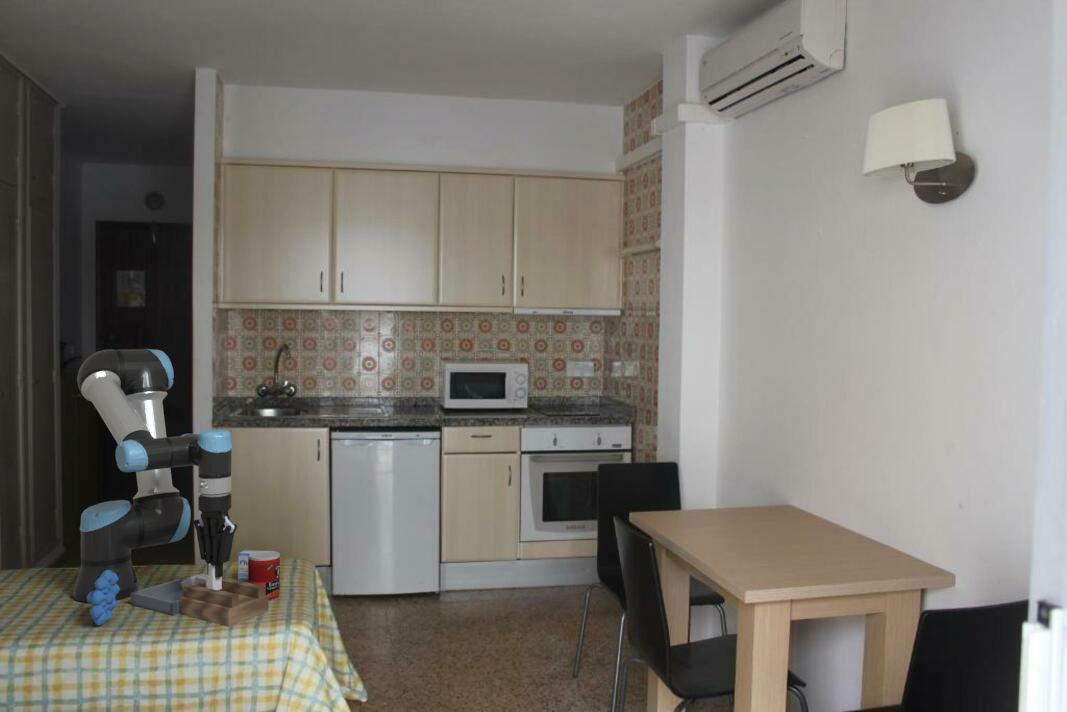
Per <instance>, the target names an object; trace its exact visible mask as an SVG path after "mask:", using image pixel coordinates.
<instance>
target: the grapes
mask: <svg viewBox="0 0 1067 712" xmlns="http://www.w3.org/2000/svg"><path fill="white" fill-rule="evenodd" d="M118 580H119V579H118V576H117V575H116V573H114V572H112V571H111V570H105V571H104V572H103V573H102V574H101V576H100V578H98V579H97V580H96V582H95V583H94V585H95V588H96V589H95V590H94V591H91V592H90V593H89V594H88V595H87V597H86V599H87V601H88V602H87V603H88V604H90V605H91V606H92V607H91V608H90V610H89V613H90V616H91V617H92V620H93V622H94V623H95V625H96V626H99V627H100V626H102V625H103V624H105V623H107V622H109V621H110V620H111V619H112V617H113V616H114V613H113V610H114V609H116V608H117V606H118V605H119V603H118V601H117V600H118V599H117V600H116V599H115V597H116V596H115V595H117V594H118V592H119V591H120V588H119V586H118V585H117V584H116V582H117V581H118Z"/></svg>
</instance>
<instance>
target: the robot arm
mask: <svg viewBox="0 0 1067 712" xmlns="http://www.w3.org/2000/svg"><path fill="white" fill-rule="evenodd" d="M174 377H175V375H174V367H173V365H172V362H171V359H170V358H169V356H168V355H167V354H166V353H165V352H164V351H163V350H160V349H150V348H138V349H137V348H133V349H132V348H131V349H103V350H99V351H96V352H94V353H93V354H91V355H90V356H88V357H87V358H86V359H85V360H84V361H83V363H82V364H81V365H80V368H79V370H78V374H77V378H76V379H77V380H76V381H77V386H78V390H79V391H80V394H81V395H82V396H83V397H84V399H86V401H89V402H91V403H92V404H93V406H94V408H95V409H96V411H97V413H99V416H100V417H101V419H102V420H103V422H104V423H105V425H106V427H107V428H108V430H109V431H110V433H111V435H112V437H113V439H114V440H115V441H116V443H117V446H116V448H115V461H116V465H117V467H118V469H119V470H120V471H121V472H123V473H132V472H133V473H134V472H135V474H136V482H137V493H136V494H135V495H134V496H133V497H132V503H133V504H131V502H130V501H129V500H125V499H118V500H117V499H116V500H109V501H108V500H107V501H103V502H100V503H97V504H94V505H90V506H88V507H87V508H86V509H84V510H83V512H82V513H81V514H80V515H81V516H80V526H79V531H80V569H79V571H78V575H77V577H76V580H75V584H74V586H73V599H74V600H75V601H76V602H82V603H88V601H87V599H86V597H87V595H88V594H89V593H90V592H91V591H94V590H95V589H96V588H95V585H94V583H95V582H96V580H97V579H98V578H100V576H101V574H102V573H103V572H104V571H105V570H111V571H112V572H114V573H116V575H117V576H118V579H119V580H118V581H117V582H116V584H117V585H118V586H119V588H120V591H119V592H118V594H117V595H115V596H116V597H115V599H116V600H120V599H121V600H122V599H125V598H128V597H131V593H132V592H136V591H139V590H140V589H139V588H140V587H139V579H138V577H137V574H136V571H135V569H134V566H133V563H132V550H136V549H141V548H147V547H155V546H158V545H168V544H170V543H174V542H175V543H176V542H178V541H181V540H182V539H183V538H184V537H185V536H186V535H187V533H188V531H189V528H190V524H191V514H192V513H191V512H192V511H191V506H190V503H189V501H188V499H187V498H184V497H182V496H180V495H181V494H180V490H179V489H177V488H176V487H174V485H173V478H172V472H171V469H172V468H179V467H180V468H181V467H183V468H184V467H190V466H196V467H198V493H199V495H198V501H197V502H198V511H200V512H201V513H200V517H199V518H198V519H194V520H193V526H194V528H195V530H196V536H197V544H198V549H199V555H200V560H205V563H206V565H207V568H206V569H207V573H206V574H208V576H209V589H213V590H220V589H222V577H223V575H224V563H227V562H229V561H230V560H231V553H232V547H233V543H234V536H235V532H236V530H237V529H238V525H237V524H235V523H232V522H231V521H230V518H231V517H230V515H229V512H230V510H231V508H232V494H231V492H232V490H233V489H232V447H233V444H232V437H231V435H232V434H231V432H230V431H229V430H226V429H206V430H205V429H204V430H201V431H200V432H199V433H198V434H197V433H184V434H182V435H180V436H171V437H170V436H167V429H166V421H165V414H164V405H163V403H164V402H163V401H164V399H166V397H167V396H168V390H170V389H171V388H172V387H173V385H174Z"/></svg>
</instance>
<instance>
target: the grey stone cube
mask: <svg viewBox="0 0 1067 712" xmlns="http://www.w3.org/2000/svg"><path fill="white" fill-rule="evenodd" d="M204 574H205V573H204V572H203V573H199V574H196V575H193V576H189V577H187V578H184V579H185V580H183V581H181V585H182V588H183V586H186V585H190V584H191V585H195V577H198V576H201V575H204Z"/></svg>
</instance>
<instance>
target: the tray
mask: <svg viewBox="0 0 1067 712" xmlns="http://www.w3.org/2000/svg"><path fill="white" fill-rule="evenodd" d="M185 579H186V578H184V577H181V578H178V579H174V580H171V581H170V580H169V581H167V582H164V583H160V584H157V585H154V586H150V587H146V588H143V589H139V590H138V591H136V592H132V593H131V596H130V605H131V606H134V607H137V608H142V609H146V610H149V611H153V612H158V613H160V614H161V613H162V614H165V615H169V616H177V615H181V614H180V598H181V597H183V588H182V585H181V581H183V580H185Z"/></svg>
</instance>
